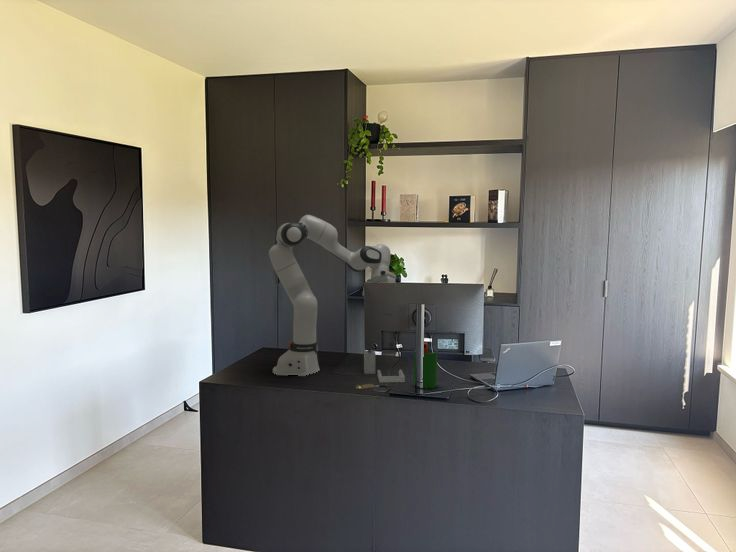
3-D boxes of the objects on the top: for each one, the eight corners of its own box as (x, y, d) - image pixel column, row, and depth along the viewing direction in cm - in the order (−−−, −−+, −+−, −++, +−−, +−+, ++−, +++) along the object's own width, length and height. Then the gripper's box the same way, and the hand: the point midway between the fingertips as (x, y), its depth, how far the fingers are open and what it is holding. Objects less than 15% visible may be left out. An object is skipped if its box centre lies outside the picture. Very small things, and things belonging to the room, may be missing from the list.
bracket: (379, 382, 238) (379, 377, 238) (377, 375, 250) (377, 369, 249) (404, 382, 239) (404, 376, 239) (401, 374, 250) (401, 369, 250)
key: (358, 389, 228) (358, 388, 228) (354, 387, 231) (354, 385, 231) (374, 387, 232) (374, 385, 232) (370, 385, 235) (370, 383, 235)
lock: (364, 374, 251) (364, 351, 250) (363, 370, 257) (364, 347, 256) (375, 374, 251) (375, 350, 250) (374, 370, 257) (374, 347, 256)
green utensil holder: (436, 383, 238) (437, 339, 236) (437, 389, 229) (438, 344, 227) (413, 382, 239) (414, 339, 237) (413, 388, 230) (414, 343, 228)
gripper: (361, 278, 268) (358, 304, 263) (389, 270, 253) (386, 297, 248) (370, 282, 272) (367, 307, 267) (398, 274, 257) (395, 301, 252)
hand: (376, 303), depth 258 cm, fingers open, 8 cm apart
